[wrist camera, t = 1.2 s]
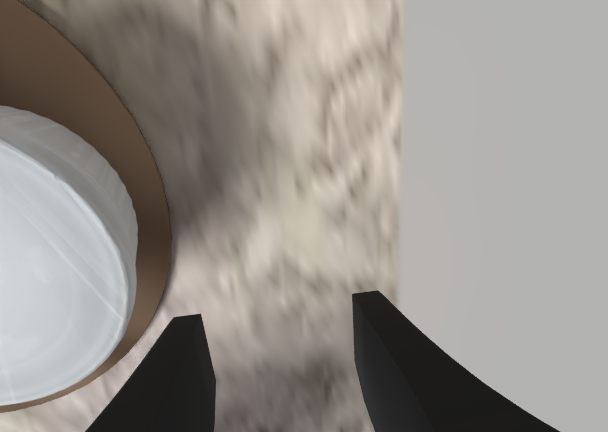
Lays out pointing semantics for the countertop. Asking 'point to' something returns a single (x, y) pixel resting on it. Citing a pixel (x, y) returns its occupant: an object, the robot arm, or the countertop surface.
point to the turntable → (98, 133)
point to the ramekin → (59, 257)
